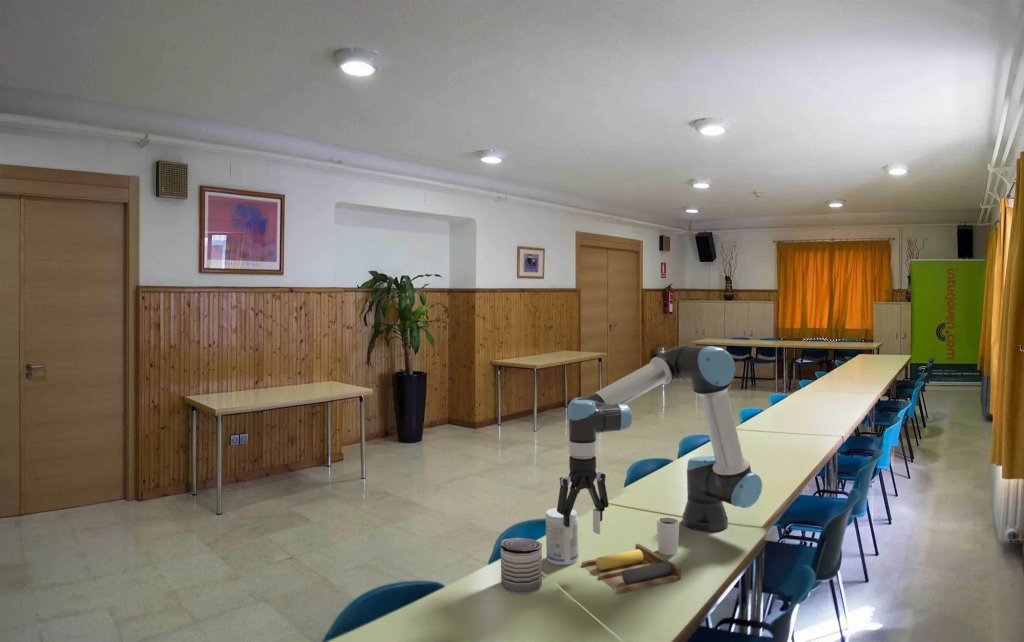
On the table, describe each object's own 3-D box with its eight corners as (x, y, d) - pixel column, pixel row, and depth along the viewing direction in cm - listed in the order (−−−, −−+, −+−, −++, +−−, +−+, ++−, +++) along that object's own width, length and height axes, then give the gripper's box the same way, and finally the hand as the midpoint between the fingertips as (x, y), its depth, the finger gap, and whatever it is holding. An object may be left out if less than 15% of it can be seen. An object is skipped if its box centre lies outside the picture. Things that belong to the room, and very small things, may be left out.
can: (492, 583, 180) (492, 541, 179) (525, 572, 187) (524, 531, 186) (518, 598, 171) (517, 553, 170) (551, 586, 178) (550, 543, 177)
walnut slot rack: (638, 554, 198) (638, 543, 198) (680, 580, 180) (680, 568, 180) (581, 566, 190) (581, 555, 190) (619, 594, 172) (619, 582, 172)
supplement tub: (570, 552, 201) (569, 505, 201) (583, 563, 192) (583, 514, 192) (541, 556, 198) (540, 509, 197) (553, 569, 189) (553, 519, 188)
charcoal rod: (663, 571, 185) (663, 559, 185) (671, 576, 181) (671, 564, 181) (622, 581, 179) (622, 568, 179) (629, 586, 176) (629, 573, 176)
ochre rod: (640, 564, 192) (634, 553, 194) (644, 557, 190) (638, 546, 192) (599, 573, 186) (594, 562, 189) (603, 566, 184) (598, 555, 187)
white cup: (679, 557, 196) (679, 524, 195) (657, 556, 197) (656, 523, 197) (678, 549, 202) (678, 517, 202) (656, 547, 204) (656, 516, 203)
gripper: (607, 448, 191) (607, 525, 192) (543, 456, 182) (544, 536, 183) (621, 454, 184) (621, 533, 185) (555, 462, 176) (556, 545, 176)
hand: (583, 535), depth 184 cm, fingers open, 8 cm apart
